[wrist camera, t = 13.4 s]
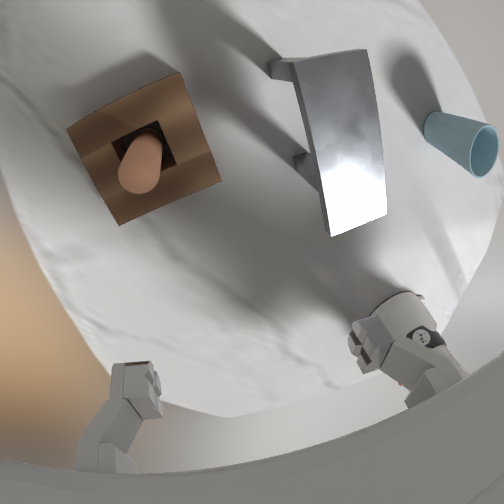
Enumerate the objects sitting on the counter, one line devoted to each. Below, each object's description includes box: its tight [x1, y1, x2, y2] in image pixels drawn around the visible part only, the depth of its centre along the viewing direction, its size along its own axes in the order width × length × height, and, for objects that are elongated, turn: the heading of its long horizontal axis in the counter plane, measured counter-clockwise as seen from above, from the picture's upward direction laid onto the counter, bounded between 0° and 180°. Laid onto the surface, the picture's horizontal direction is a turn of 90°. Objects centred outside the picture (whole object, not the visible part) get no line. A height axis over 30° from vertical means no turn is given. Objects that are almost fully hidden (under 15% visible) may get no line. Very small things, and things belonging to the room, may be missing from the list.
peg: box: [118, 128, 163, 194], centre depth 26 cm, size 3×3×10 cm
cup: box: [423, 112, 499, 178], centre depth 32 cm, size 8×8×10 cm
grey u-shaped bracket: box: [266, 49, 387, 237], centre depth 27 cm, size 15×6×13 cm, turn 17°
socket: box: [66, 72, 222, 226], centre depth 28 cm, size 12×12×4 cm
